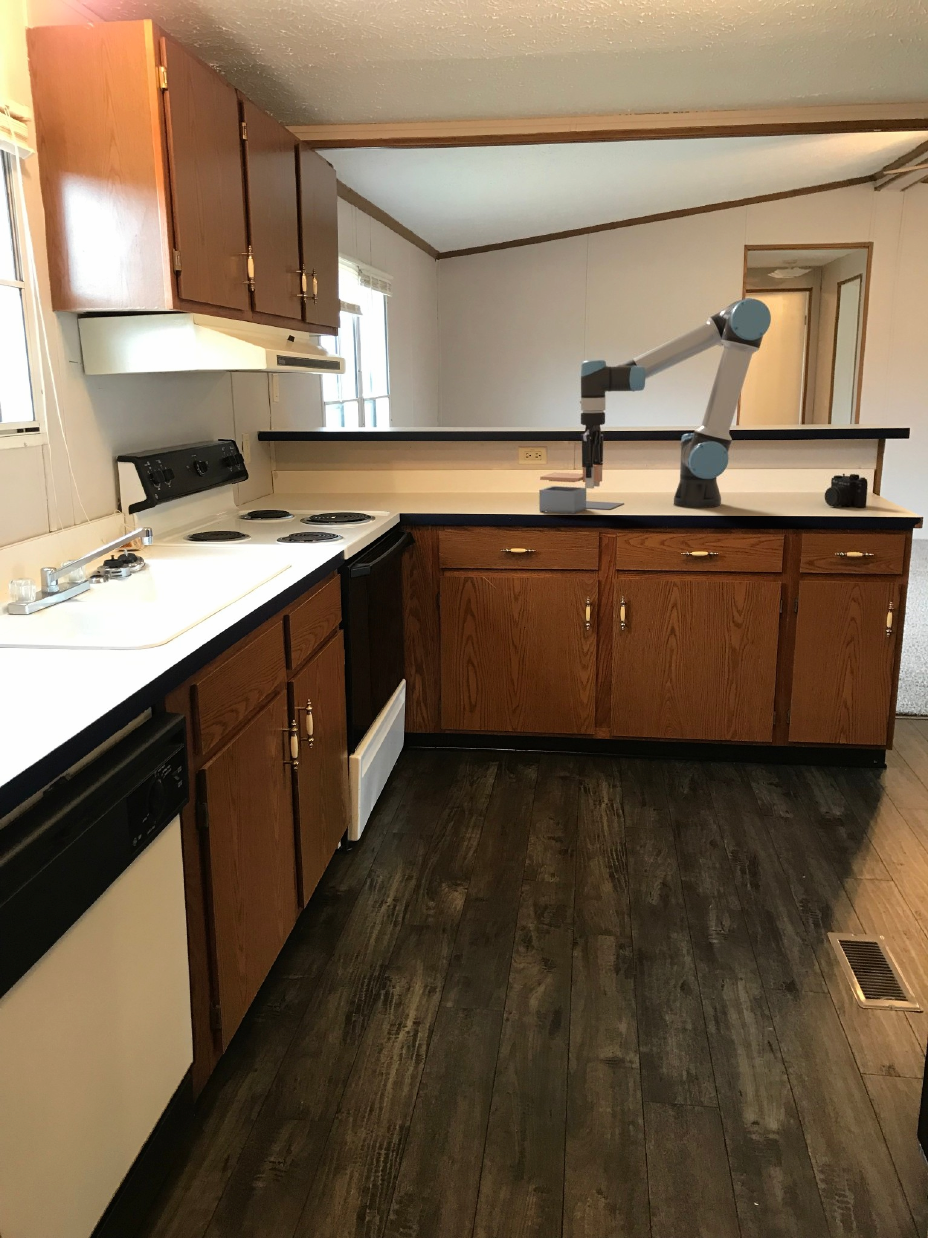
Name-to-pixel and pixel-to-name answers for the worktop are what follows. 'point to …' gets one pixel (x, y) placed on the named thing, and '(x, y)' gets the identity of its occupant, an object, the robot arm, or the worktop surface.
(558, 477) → the lid
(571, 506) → the tub
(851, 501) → the camera
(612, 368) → the robot arm
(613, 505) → the mat
